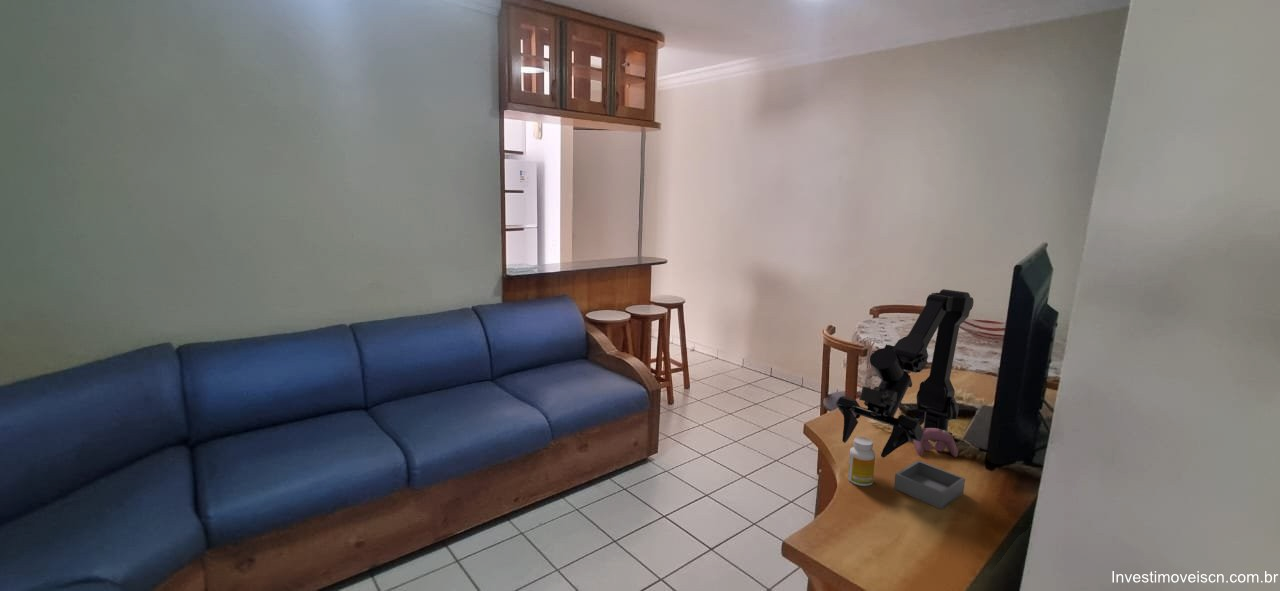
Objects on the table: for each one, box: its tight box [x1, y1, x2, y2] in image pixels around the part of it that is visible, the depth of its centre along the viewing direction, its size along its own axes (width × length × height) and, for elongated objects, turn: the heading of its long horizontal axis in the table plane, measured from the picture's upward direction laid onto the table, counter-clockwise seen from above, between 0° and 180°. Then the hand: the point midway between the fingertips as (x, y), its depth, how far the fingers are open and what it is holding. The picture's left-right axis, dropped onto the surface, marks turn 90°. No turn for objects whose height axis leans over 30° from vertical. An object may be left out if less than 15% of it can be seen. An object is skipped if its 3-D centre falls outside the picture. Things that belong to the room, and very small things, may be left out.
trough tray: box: [893, 460, 966, 510], centre depth 119 cm, size 10×10×4 cm
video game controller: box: [913, 427, 959, 458], centre depth 137 cm, size 10×5×7 cm, turn 84°
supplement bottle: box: [847, 436, 876, 487], centre depth 123 cm, size 5×5×10 cm
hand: (862, 449), depth 122 cm, fingers open, 9 cm apart
